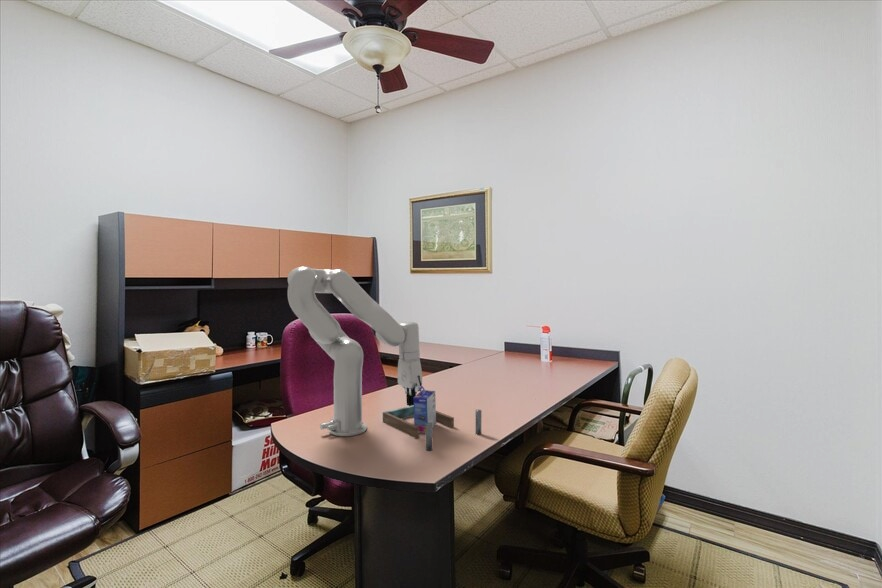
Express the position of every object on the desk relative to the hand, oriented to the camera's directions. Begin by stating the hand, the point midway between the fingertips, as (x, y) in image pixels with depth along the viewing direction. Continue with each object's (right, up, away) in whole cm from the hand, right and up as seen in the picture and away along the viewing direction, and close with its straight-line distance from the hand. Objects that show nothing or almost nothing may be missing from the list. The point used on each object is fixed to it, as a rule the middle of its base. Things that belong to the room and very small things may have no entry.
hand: (411, 404), depth 155 cm
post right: (+24, -6, -14) cm, 28 cm away
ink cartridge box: (+5, -6, -8) cm, 12 cm away
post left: (+7, -7, -27) cm, 29 cm away
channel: (+3, -6, -5) cm, 8 cm away
